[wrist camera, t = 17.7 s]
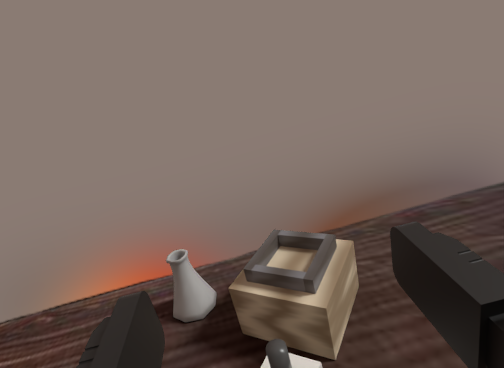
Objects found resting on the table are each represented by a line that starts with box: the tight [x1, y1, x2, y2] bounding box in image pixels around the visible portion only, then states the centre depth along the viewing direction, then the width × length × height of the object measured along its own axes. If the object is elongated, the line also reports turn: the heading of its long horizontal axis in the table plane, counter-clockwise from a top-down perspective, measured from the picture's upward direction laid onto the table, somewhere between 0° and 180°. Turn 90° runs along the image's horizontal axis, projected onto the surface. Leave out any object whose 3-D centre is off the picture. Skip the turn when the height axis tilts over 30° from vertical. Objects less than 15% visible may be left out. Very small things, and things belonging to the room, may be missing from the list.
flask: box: [166, 249, 217, 322], centre depth 50 cm, size 7×7×10 cm
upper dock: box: [228, 230, 359, 360], centre depth 44 cm, size 13×13×10 cm
